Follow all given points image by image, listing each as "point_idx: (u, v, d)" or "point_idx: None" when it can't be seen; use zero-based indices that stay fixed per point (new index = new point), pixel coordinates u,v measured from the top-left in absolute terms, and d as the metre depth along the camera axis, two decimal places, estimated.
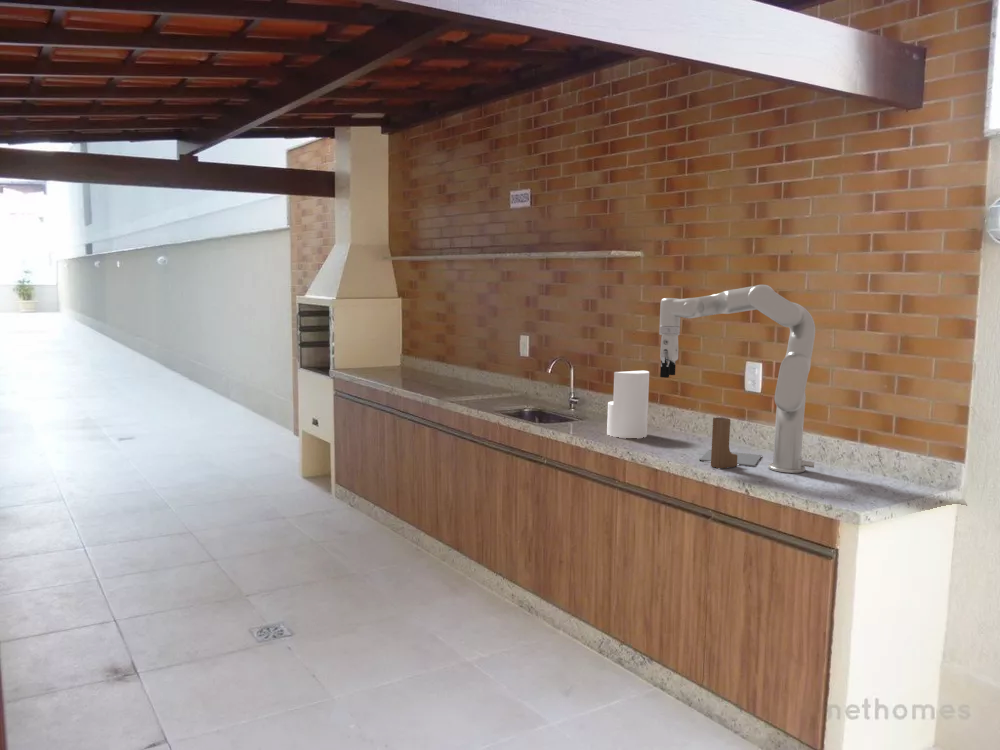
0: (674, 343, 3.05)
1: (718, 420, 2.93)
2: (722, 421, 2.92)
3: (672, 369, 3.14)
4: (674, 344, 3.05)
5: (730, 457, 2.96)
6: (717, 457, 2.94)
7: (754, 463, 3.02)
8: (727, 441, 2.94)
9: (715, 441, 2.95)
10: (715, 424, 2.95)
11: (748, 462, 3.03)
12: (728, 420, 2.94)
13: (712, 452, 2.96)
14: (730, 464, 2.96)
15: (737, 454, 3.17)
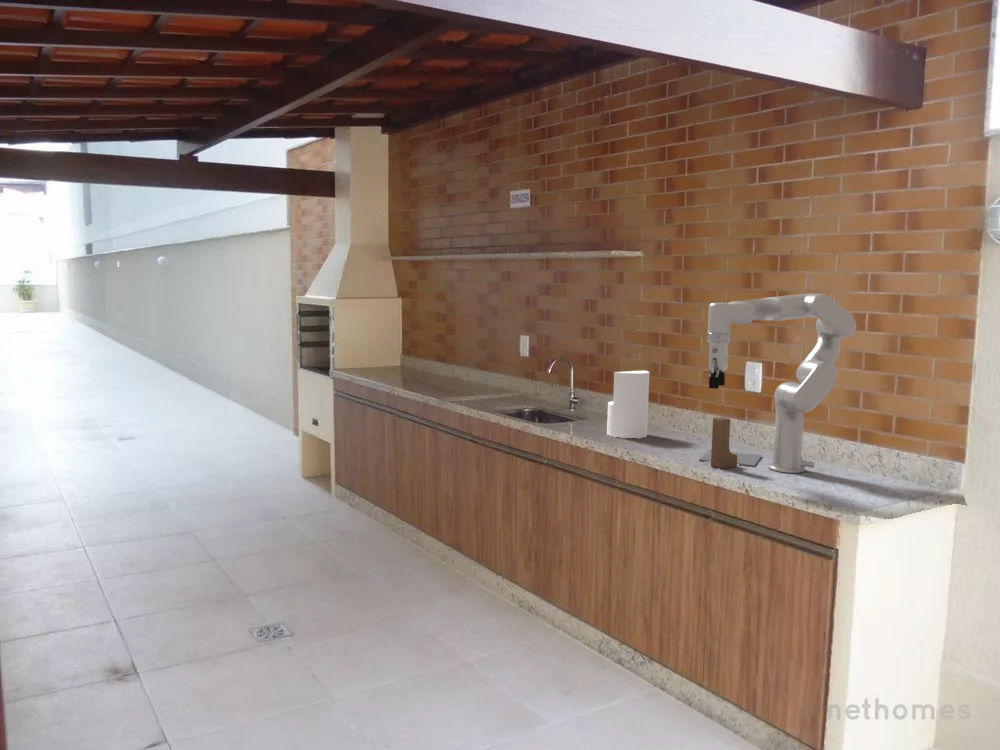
0: (724, 352, 2.82)
1: (718, 420, 2.93)
2: (722, 421, 2.92)
3: (721, 379, 2.91)
4: (724, 352, 2.82)
5: (730, 457, 2.96)
6: (717, 457, 2.94)
7: (754, 463, 3.02)
8: (727, 441, 2.94)
9: (715, 441, 2.95)
10: (715, 424, 2.95)
11: (748, 462, 3.03)
12: (728, 420, 2.94)
13: (712, 452, 2.96)
14: (730, 464, 2.96)
15: (737, 454, 3.17)
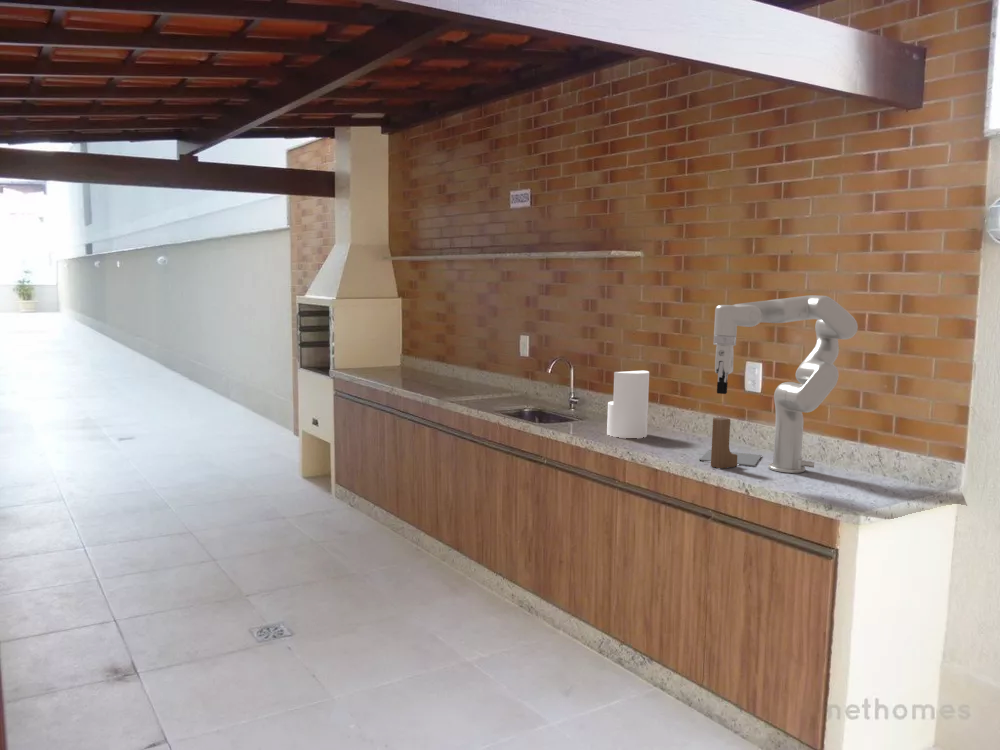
0: (730, 354, 2.80)
1: (718, 420, 2.93)
2: (722, 421, 2.92)
3: None
4: (730, 355, 2.80)
5: (730, 457, 2.96)
6: (717, 457, 2.94)
7: (754, 463, 3.02)
8: (727, 441, 2.94)
9: (715, 441, 2.95)
10: (715, 424, 2.95)
11: (748, 462, 3.03)
12: (728, 420, 2.94)
13: (712, 452, 2.96)
14: (730, 464, 2.96)
15: (737, 454, 3.17)
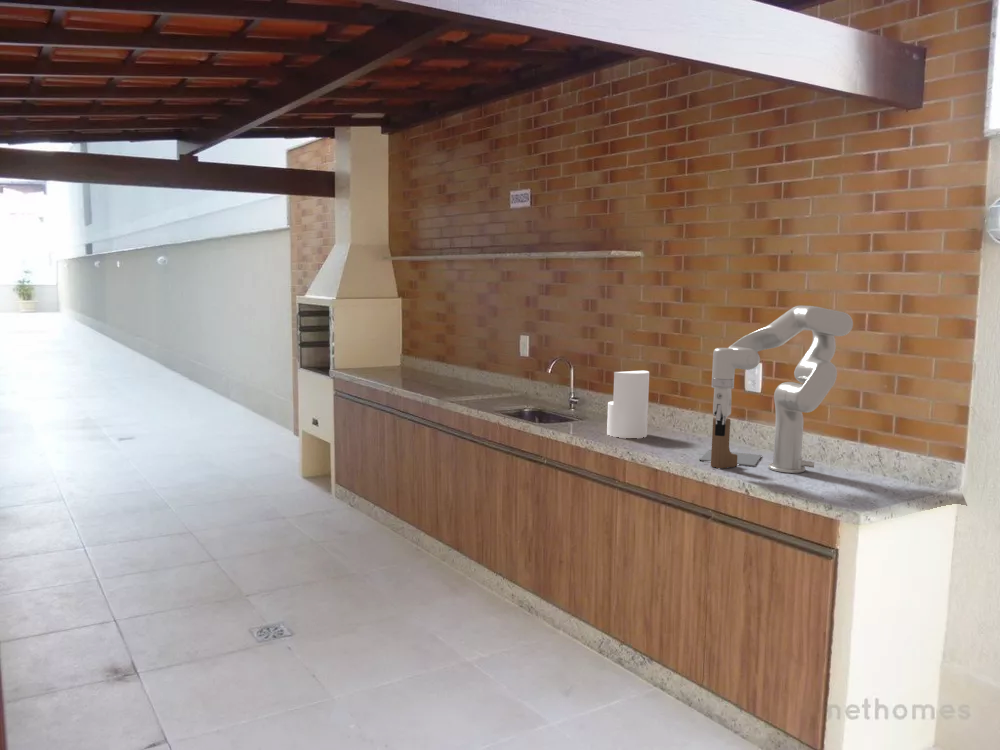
0: (728, 397, 2.81)
1: None
2: None
3: None
4: (728, 398, 2.81)
5: (730, 457, 2.96)
6: (717, 457, 2.94)
7: (754, 463, 3.02)
8: (727, 441, 2.94)
9: (715, 441, 2.95)
10: None
11: (748, 462, 3.03)
12: (728, 420, 2.94)
13: (712, 452, 2.96)
14: (730, 464, 2.96)
15: (737, 454, 3.17)
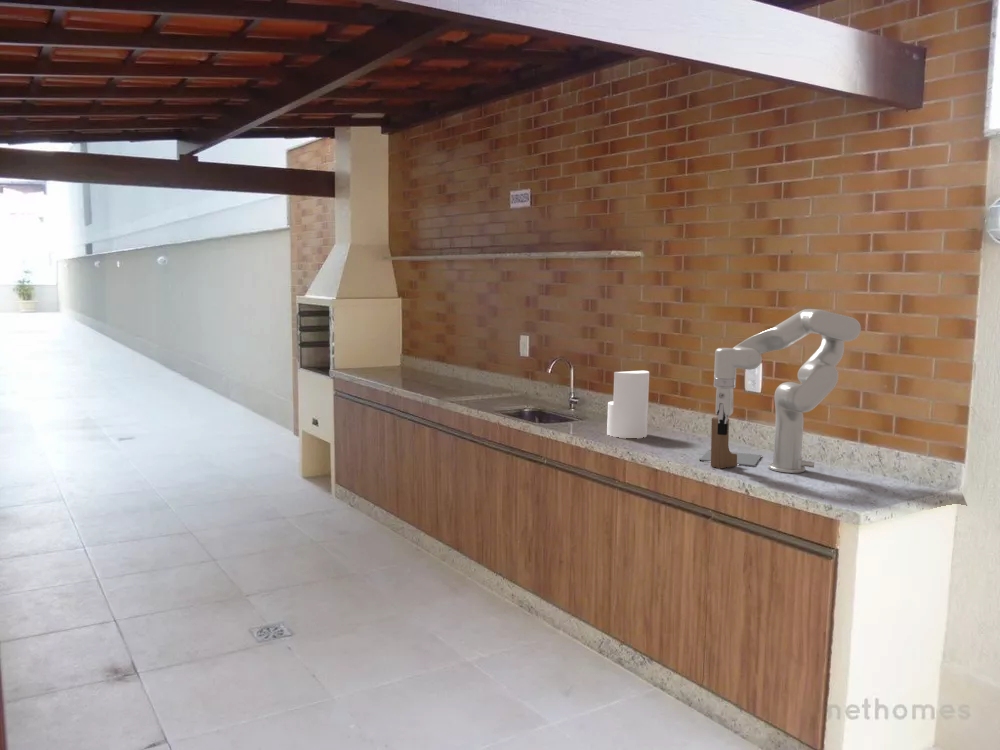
0: (730, 397, 2.85)
1: (717, 420, 2.94)
2: None
3: None
4: (730, 398, 2.85)
5: (730, 457, 2.96)
6: (717, 456, 2.94)
7: (754, 463, 3.02)
8: (726, 440, 2.95)
9: (714, 440, 2.95)
10: (714, 424, 2.95)
11: (748, 462, 3.03)
12: None
13: (712, 452, 2.97)
14: (730, 464, 2.96)
15: (737, 454, 3.17)
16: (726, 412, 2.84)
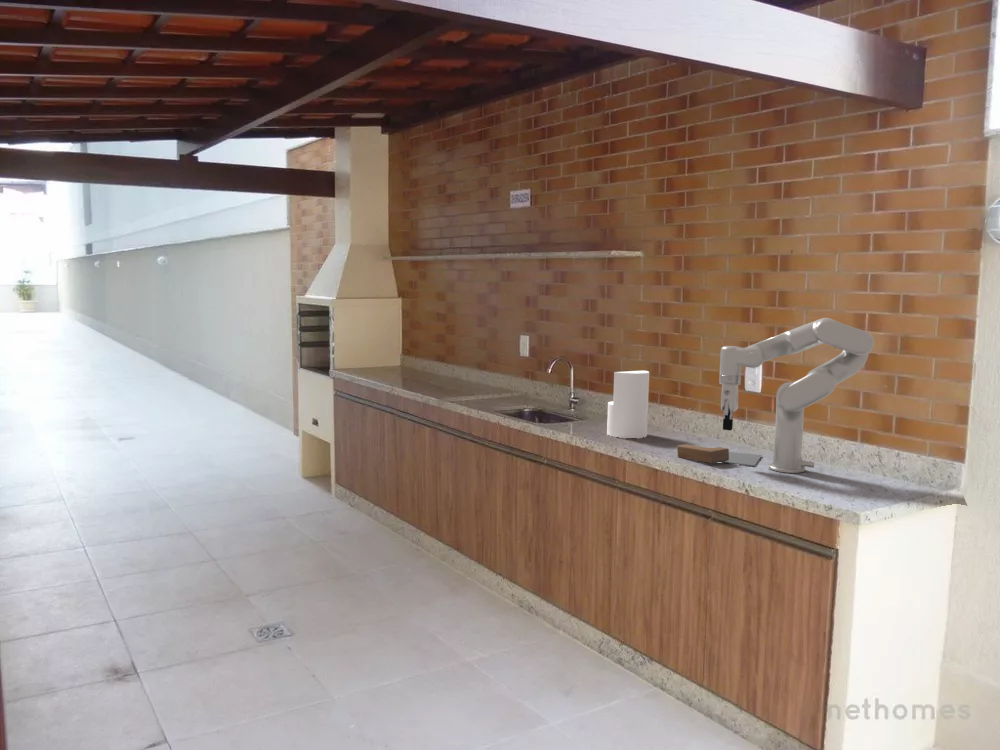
0: (735, 393, 2.95)
1: (678, 449, 3.13)
2: (679, 445, 3.13)
3: None
4: (735, 394, 2.95)
5: (714, 448, 3.04)
6: (702, 452, 3.01)
7: (754, 463, 3.02)
8: (698, 447, 3.08)
9: (692, 455, 3.06)
10: (681, 453, 3.11)
11: (748, 462, 3.03)
12: None
13: (700, 459, 3.03)
14: (720, 449, 3.01)
15: (737, 454, 3.17)
16: (731, 408, 2.94)
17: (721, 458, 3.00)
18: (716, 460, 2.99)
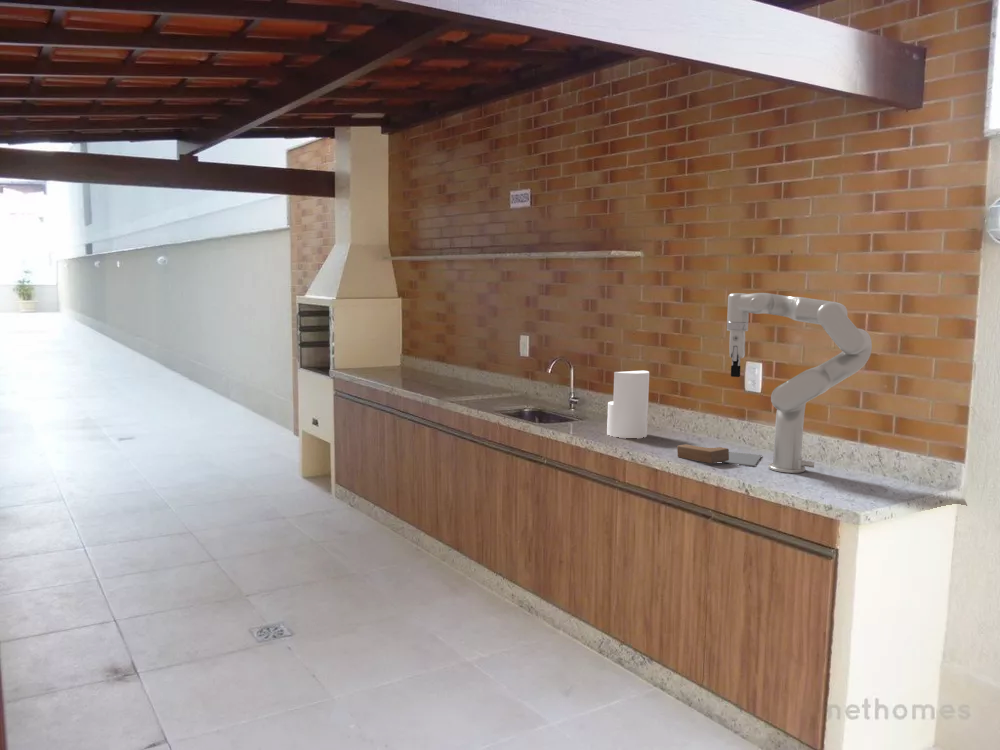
0: (743, 339, 2.98)
1: (678, 449, 3.13)
2: (679, 445, 3.13)
3: None
4: (743, 340, 2.98)
5: (714, 448, 3.04)
6: (702, 452, 3.01)
7: (754, 463, 3.02)
8: (698, 447, 3.08)
9: (692, 455, 3.06)
10: (681, 453, 3.11)
11: (748, 462, 3.03)
12: (684, 444, 3.14)
13: (700, 459, 3.03)
14: (720, 449, 3.01)
15: (737, 454, 3.17)
16: (740, 354, 2.96)
17: (721, 458, 3.00)
18: (716, 460, 2.99)
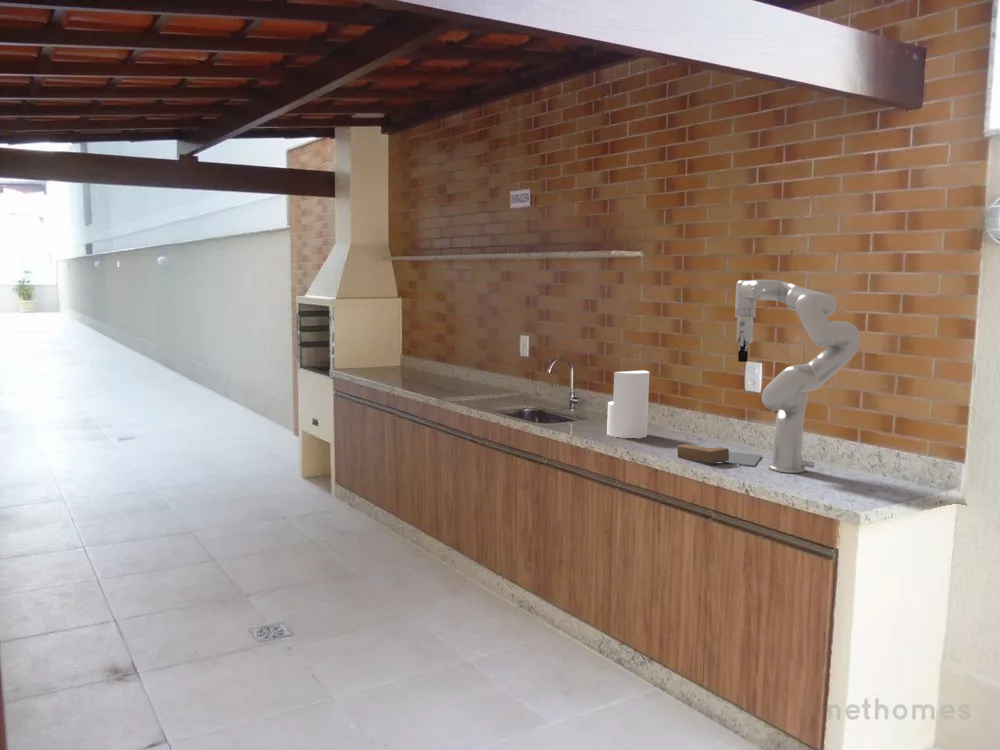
0: (750, 325, 3.05)
1: (678, 449, 3.13)
2: (679, 445, 3.13)
3: None
4: (750, 326, 3.05)
5: (714, 448, 3.04)
6: (702, 452, 3.01)
7: (754, 463, 3.02)
8: (698, 447, 3.08)
9: (692, 455, 3.06)
10: (681, 453, 3.11)
11: (748, 462, 3.03)
12: (684, 444, 3.14)
13: (700, 459, 3.03)
14: (720, 449, 3.01)
15: (737, 454, 3.17)
16: (746, 339, 3.04)
17: (720, 458, 3.00)
18: (716, 460, 2.99)
